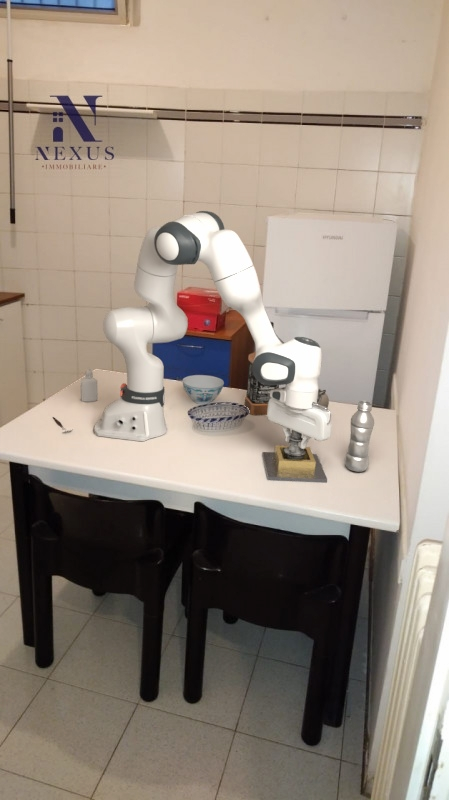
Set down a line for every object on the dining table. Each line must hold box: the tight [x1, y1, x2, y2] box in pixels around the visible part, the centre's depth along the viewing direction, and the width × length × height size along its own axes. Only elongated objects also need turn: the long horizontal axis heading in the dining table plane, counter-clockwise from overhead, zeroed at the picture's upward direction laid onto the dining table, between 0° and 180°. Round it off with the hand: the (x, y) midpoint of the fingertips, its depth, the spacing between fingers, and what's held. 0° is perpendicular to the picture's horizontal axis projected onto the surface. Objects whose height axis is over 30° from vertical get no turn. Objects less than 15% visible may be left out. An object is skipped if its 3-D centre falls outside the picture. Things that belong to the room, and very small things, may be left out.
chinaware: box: [182, 374, 225, 405], centre depth 209 cm, size 15×15×8 cm
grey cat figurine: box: [317, 388, 330, 408], centre depth 197 cm, size 10×12×10 cm
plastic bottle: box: [344, 400, 375, 473], centre depth 160 cm, size 6×7×20 cm
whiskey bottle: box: [243, 321, 280, 416], centre depth 199 cm, size 10×10×32 cm
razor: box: [52, 417, 73, 434], centre depth 179 cm, size 3×16×2 cm, turn 33°
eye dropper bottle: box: [80, 367, 99, 403], centre depth 201 cm, size 4×6×12 cm
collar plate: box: [262, 445, 328, 484], centre depth 161 cm, size 16×16×4 cm
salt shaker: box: [284, 429, 305, 460], centre depth 158 cm, size 6×6×12 cm
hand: (295, 444), depth 159 cm, fingers closed on salt shaker, 3 cm apart
